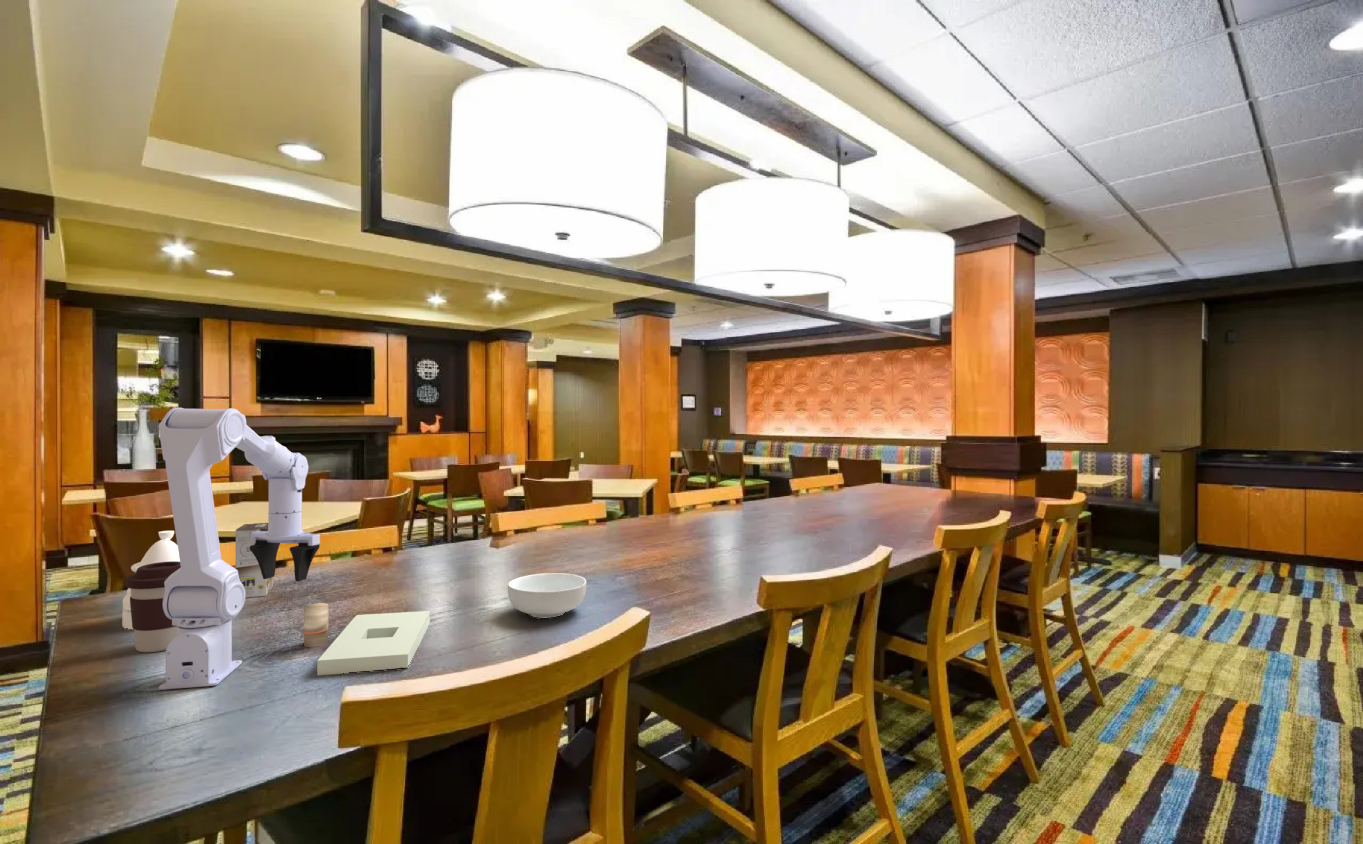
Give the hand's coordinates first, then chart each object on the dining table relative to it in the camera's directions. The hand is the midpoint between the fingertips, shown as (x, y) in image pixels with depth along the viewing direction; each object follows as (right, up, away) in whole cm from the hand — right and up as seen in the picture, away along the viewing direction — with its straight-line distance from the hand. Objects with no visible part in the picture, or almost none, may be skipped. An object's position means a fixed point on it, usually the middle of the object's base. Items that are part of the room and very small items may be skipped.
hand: (284, 579), depth 127 cm
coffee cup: (-16, -10, -11) cm, 22 cm away
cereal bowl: (+51, -11, +11) cm, 53 cm away
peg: (+11, -10, -8) cm, 17 cm away
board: (+24, -10, -10) cm, 28 cm away
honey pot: (-28, -10, +4) cm, 30 cm away
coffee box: (-22, -9, +24) cm, 34 cm away
